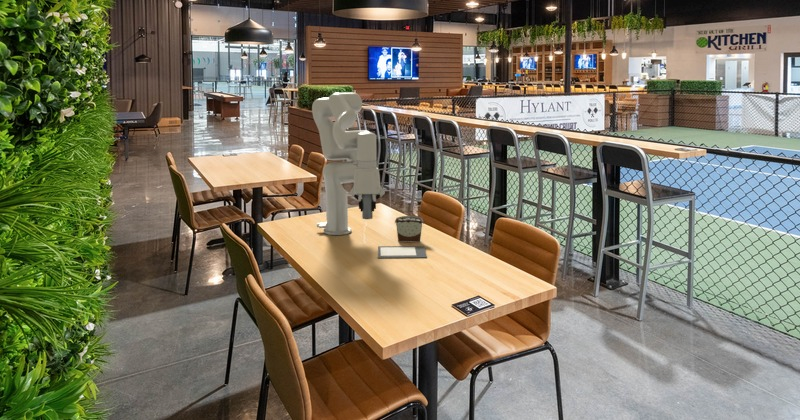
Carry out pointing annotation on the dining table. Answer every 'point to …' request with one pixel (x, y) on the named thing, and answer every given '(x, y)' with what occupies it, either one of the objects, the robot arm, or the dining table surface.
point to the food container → (409, 228)
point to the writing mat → (401, 252)
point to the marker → (367, 206)
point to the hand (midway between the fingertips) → (367, 210)
